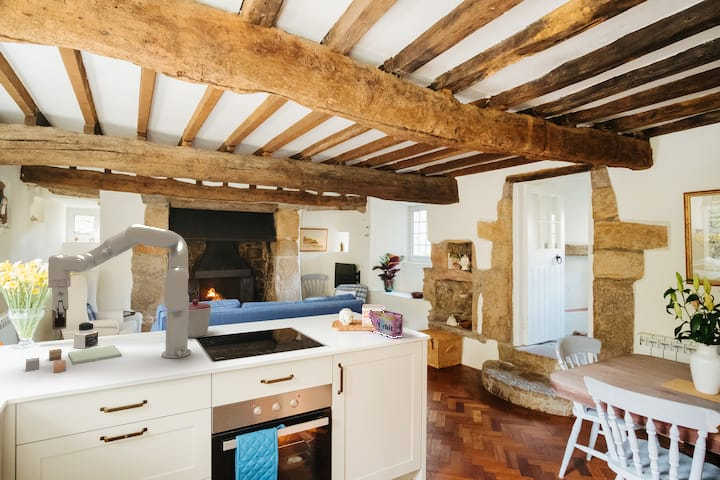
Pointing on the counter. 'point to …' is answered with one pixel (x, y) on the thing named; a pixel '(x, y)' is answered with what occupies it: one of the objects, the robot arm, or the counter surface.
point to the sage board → (94, 354)
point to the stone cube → (32, 364)
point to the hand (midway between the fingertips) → (59, 325)
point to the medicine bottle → (86, 336)
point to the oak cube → (55, 354)
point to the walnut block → (54, 320)
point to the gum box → (387, 322)
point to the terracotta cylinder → (59, 366)
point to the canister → (198, 318)
